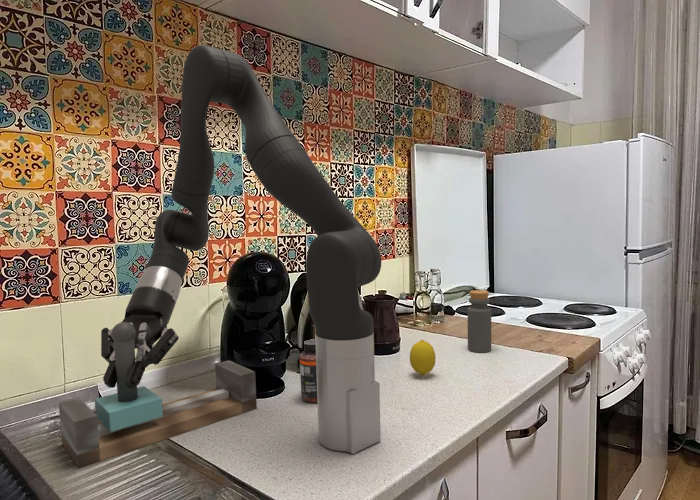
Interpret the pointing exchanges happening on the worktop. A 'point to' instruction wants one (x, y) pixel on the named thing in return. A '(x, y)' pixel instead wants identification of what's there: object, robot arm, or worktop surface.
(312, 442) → the worktop surface
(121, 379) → the carriage
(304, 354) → the supplement bottle
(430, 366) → the lemon
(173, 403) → the rail
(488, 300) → the bottle
